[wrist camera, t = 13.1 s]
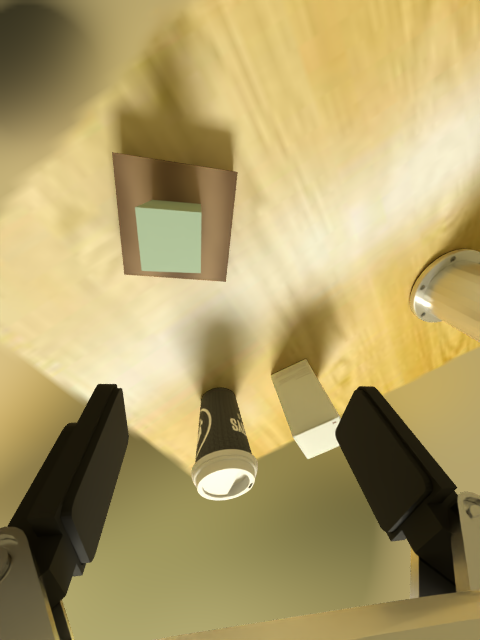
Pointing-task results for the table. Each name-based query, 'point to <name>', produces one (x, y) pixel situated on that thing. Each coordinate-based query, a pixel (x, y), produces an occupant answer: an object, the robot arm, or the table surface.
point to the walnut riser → (177, 186)
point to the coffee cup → (222, 449)
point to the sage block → (169, 236)
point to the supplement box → (307, 409)
